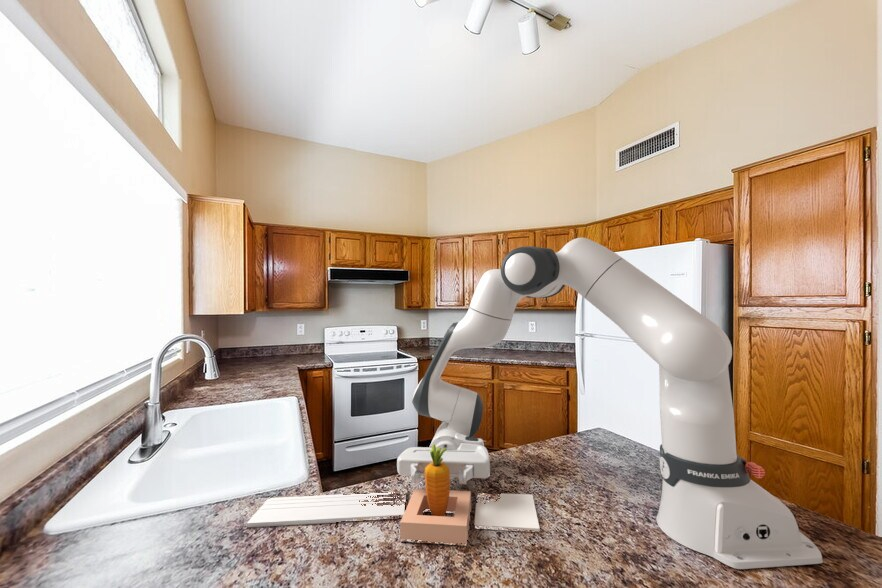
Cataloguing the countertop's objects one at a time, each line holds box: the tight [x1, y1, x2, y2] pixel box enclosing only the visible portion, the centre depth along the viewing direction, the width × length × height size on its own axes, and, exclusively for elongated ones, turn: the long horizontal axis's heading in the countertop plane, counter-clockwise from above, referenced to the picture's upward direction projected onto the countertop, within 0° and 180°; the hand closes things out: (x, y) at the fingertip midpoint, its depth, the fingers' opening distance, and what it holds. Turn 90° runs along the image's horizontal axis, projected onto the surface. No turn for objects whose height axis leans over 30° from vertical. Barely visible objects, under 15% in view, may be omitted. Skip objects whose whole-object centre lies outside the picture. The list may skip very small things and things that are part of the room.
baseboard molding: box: [246, 485, 409, 528], centre depth 76 cm, size 31×3×12 cm
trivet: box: [474, 492, 541, 532], centre depth 72 cm, size 12×12×1 cm
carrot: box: [424, 445, 451, 517], centre depth 69 cm, size 5×5×15 cm
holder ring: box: [399, 488, 472, 543], centre depth 69 cm, size 12×12×4 cm
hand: (438, 479), depth 70 cm, fingers open, 8 cm apart
